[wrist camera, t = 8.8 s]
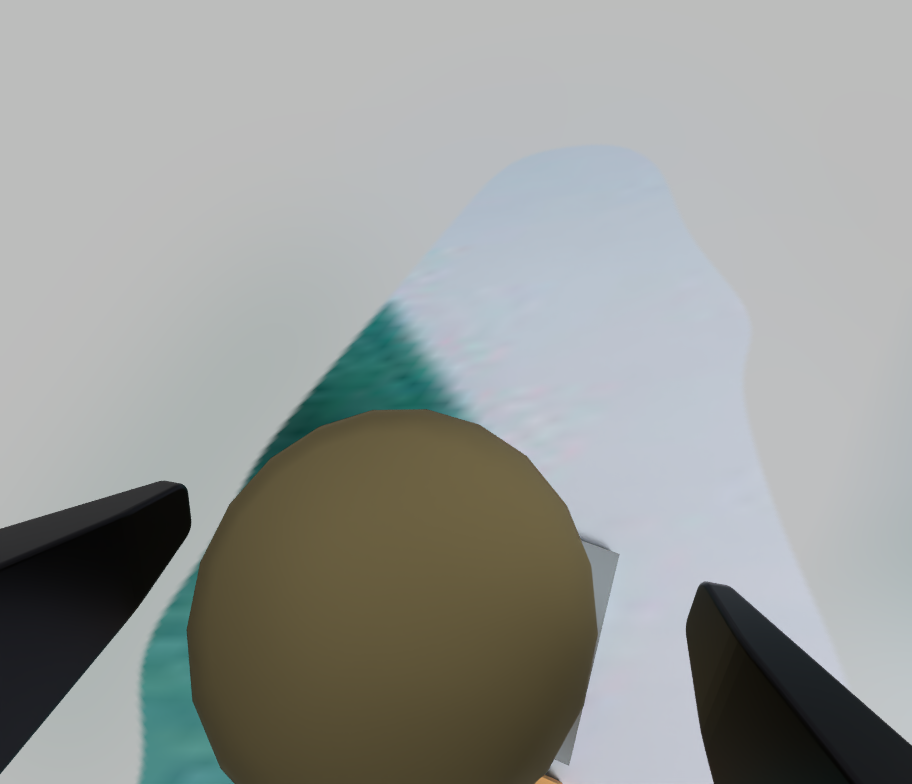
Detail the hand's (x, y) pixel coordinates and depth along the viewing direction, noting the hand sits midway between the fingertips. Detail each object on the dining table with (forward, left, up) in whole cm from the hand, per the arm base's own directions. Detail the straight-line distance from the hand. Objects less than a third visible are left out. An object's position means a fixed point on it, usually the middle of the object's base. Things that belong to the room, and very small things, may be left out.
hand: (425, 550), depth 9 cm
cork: (-1, 0, -8) cm, 8 cm away
